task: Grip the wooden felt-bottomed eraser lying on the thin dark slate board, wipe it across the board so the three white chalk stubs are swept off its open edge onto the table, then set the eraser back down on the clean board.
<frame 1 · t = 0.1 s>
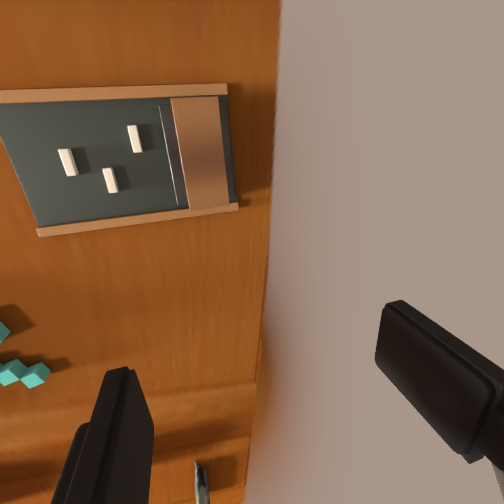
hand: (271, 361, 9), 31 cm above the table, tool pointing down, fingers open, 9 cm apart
chalk stub 3: (70, 162, 31), resting on slate board
slate board: (133, 161, 33), on the table
chalk stub 2: (111, 179, 33), resting on slate board
eraser: (199, 155, 35), resting on slate board
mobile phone: (201, 476, 62), on the table
chalk stub 1: (135, 139, 32), resting on slate board
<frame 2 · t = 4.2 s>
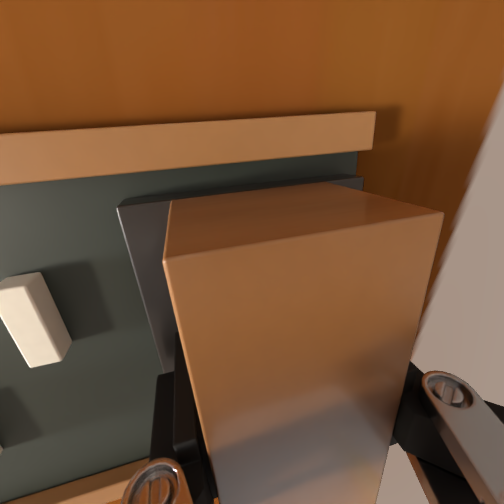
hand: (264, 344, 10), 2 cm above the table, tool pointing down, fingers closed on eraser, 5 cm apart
slate board: (45, 361, 10), on the table
eraser: (255, 321, 11), resting on slate board, touching gripper
chalk stub 1: (42, 311, 9), resting on slate board
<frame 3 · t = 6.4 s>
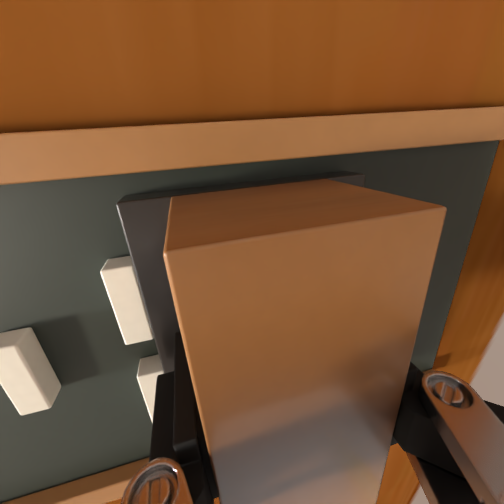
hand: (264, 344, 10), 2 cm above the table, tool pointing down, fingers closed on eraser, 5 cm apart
chalk stub 3: (33, 361, 9), resting on slate board
slate board: (220, 322, 12), on the table
chalk stub 2: (159, 380, 11), resting on slate board
eraser: (255, 319, 11), point 1 cm above the table, touching gripper
chalk stub 1: (133, 293, 9), point 1 cm above the table
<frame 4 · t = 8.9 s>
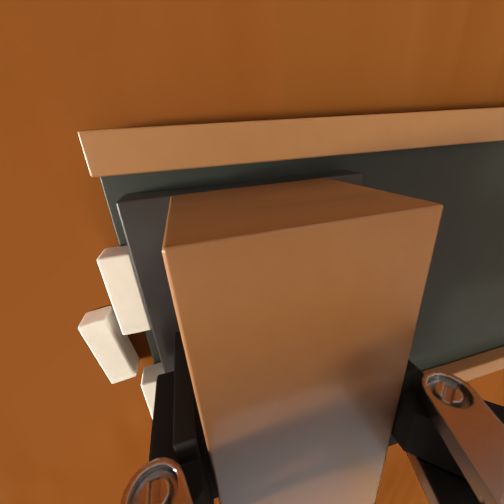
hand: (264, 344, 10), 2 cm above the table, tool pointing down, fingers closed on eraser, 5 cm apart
chalk stub 3: (124, 341, 10), on the table, tilted 90°
slate board: (404, 281, 14), on the table
chalk stub 2: (163, 387, 12), point 1 cm above the table, touching eraser
eraser: (255, 318, 11), point 1 cm above the table, touching chalk stub 2, gripper
chalk stub 1: (131, 283, 9), on the table, touching slate board
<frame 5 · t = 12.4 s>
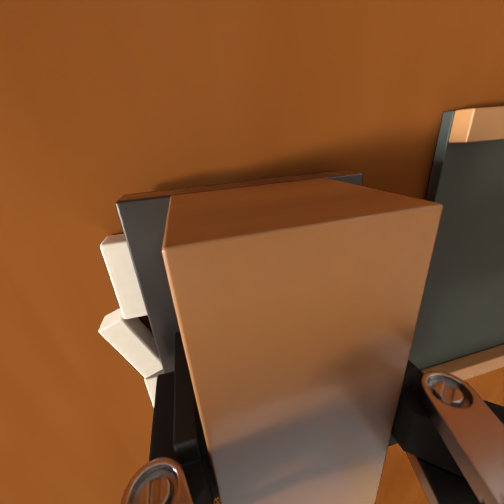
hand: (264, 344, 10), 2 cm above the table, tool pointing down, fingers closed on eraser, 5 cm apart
chalk stub 3: (147, 336, 10), on the table, tilted 90°, touching chalk stub 1, eraser
chalk stub 2: (165, 382, 12), on the table, touching eraser
eraser: (255, 318, 11), point 1 cm above the table, touching chalk stub 1, chalk stub 2, chalk stub 3, gripper
chalk stub 1: (132, 270, 10), on the table, touching chalk stub 3, eraser
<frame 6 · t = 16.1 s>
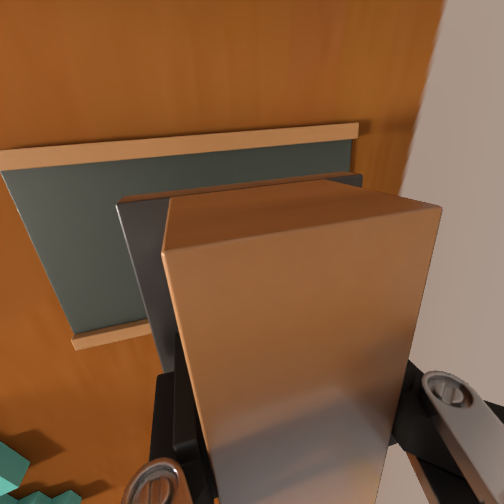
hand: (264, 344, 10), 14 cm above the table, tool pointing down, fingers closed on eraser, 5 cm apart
slate board: (211, 234, 23), on the table
eraser: (254, 319, 11), point 13 cm above the table, touching gripper
when the fingers open (2 cm above the table, at t = 19.2 s): eraser stays where it is, resting on slate board.
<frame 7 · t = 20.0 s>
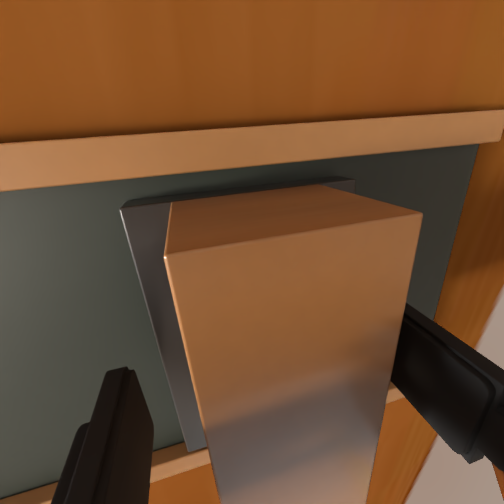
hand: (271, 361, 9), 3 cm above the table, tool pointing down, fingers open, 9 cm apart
slate board: (208, 323, 12), on the table
eraser: (252, 318, 12), resting on slate board
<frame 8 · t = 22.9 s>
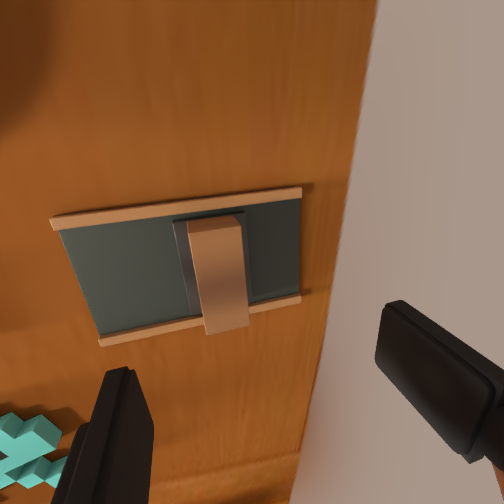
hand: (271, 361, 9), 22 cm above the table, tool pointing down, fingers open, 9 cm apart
slate board: (199, 264, 31), on the table
eraser: (215, 262, 31), resting on slate board
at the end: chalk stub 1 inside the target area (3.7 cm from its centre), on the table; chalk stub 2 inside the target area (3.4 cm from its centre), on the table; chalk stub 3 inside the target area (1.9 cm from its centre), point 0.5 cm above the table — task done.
